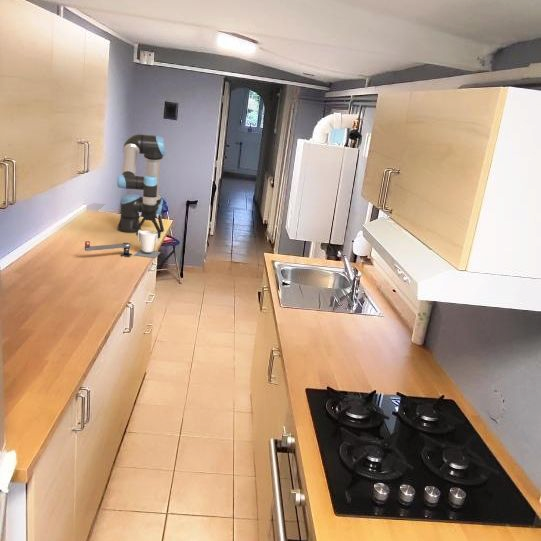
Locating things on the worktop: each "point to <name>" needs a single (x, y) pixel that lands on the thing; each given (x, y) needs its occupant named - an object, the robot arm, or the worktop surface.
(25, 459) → the worktop surface
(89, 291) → the worktop surface
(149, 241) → the cup
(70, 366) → the worktop surface
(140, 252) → the mat
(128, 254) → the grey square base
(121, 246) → the lever
